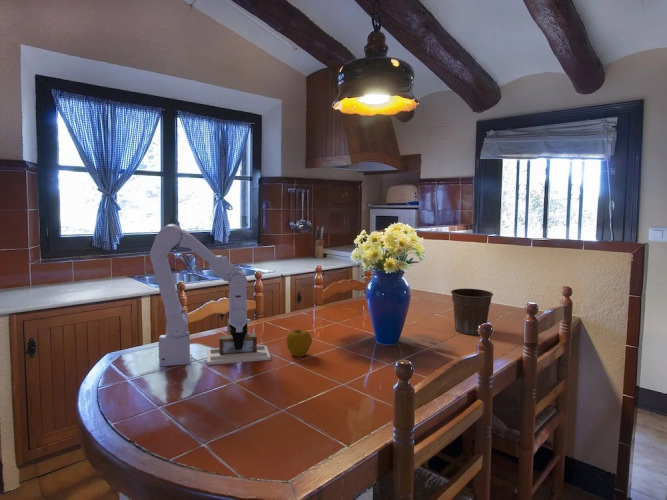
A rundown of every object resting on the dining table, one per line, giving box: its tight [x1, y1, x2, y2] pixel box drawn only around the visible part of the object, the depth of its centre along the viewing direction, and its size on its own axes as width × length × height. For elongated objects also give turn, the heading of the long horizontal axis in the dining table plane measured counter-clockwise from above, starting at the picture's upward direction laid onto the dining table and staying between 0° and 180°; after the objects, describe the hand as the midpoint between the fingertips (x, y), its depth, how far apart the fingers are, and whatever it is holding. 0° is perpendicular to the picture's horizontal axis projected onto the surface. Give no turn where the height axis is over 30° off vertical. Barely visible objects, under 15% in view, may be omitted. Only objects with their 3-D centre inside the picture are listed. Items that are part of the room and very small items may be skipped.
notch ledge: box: [206, 344, 271, 366], centre depth 149 cm, size 20×11×2 cm, turn 105°
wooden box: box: [218, 332, 258, 355], centre depth 148 cm, size 12×4×6 cm, turn 105°
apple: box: [285, 328, 313, 358], centre depth 151 cm, size 8×8×9 cm
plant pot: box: [450, 288, 494, 336], centre depth 181 cm, size 16×16×16 cm
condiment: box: [226, 318, 248, 335], centre depth 158 cm, size 7×8×12 cm
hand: (238, 347), depth 149 cm, fingers closed on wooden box, 4 cm apart
